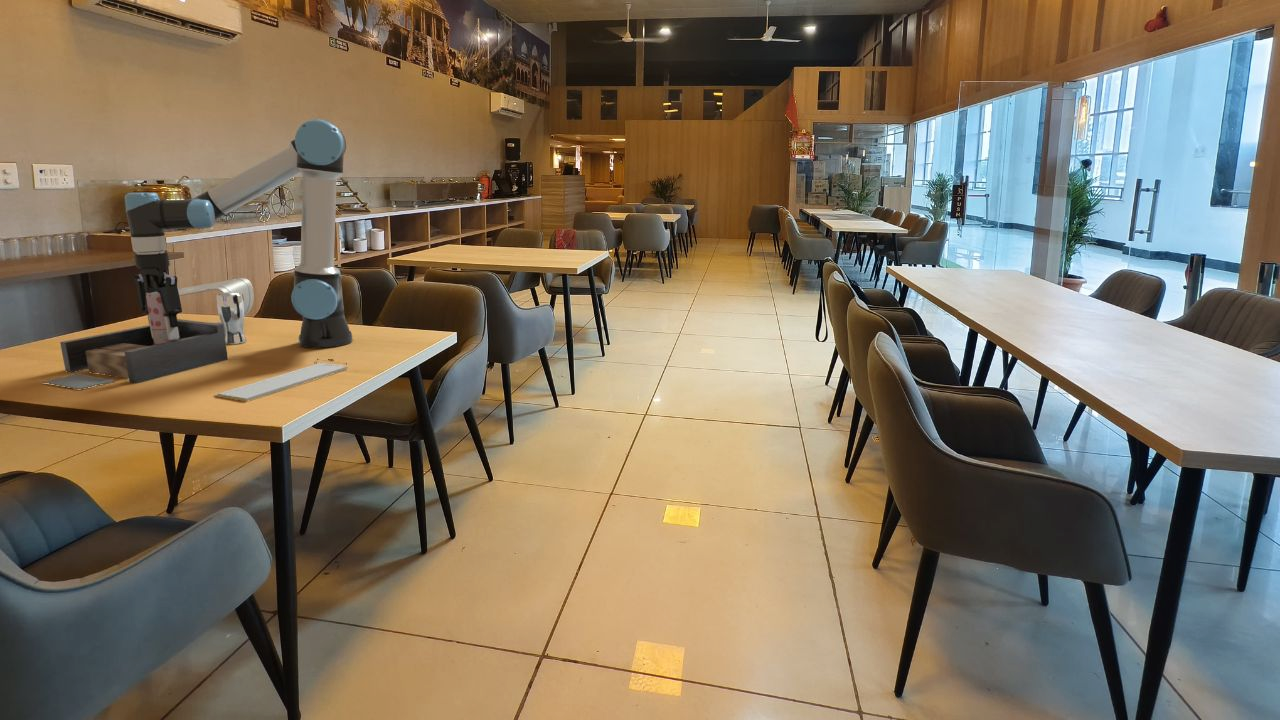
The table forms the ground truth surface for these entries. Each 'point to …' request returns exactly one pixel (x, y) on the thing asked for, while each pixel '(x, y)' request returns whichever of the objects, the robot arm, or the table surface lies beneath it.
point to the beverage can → (157, 318)
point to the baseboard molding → (281, 381)
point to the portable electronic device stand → (226, 286)
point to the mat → (78, 381)
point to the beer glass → (232, 316)
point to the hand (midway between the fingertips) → (165, 337)
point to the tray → (154, 350)
